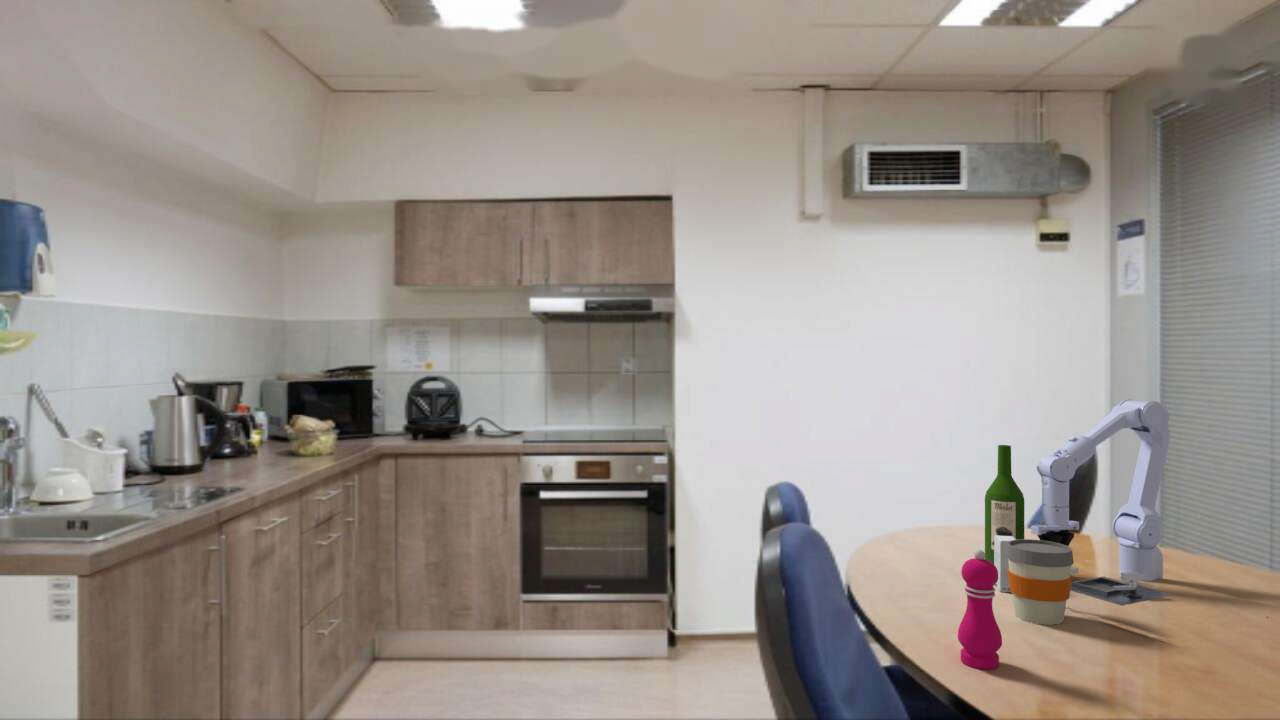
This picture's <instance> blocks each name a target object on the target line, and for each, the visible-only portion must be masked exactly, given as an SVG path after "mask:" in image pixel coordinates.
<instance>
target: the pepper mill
mask: <svg viewBox="0 0 1280 720" xmlns="http://www.w3.org/2000/svg"><path fill="white" fill-rule="evenodd" d="M973 554H974V558H970V559H967V560H966V561H965V562H964V563H963V564H962V567H961V572H960V573H961V577H962V579H963V580H964V582H965V584H964V594H965V595H966V597H967V601H966V602H967V603H966V609H965V613H964V616H963V617H962V620H961V622H960V624H959V627H958V631H957V640H958V642H959V643H960V644H961V646H962V648H961V649H960V661H961V662H962V664H963V665H966V666H967V667H971V668H974V669H977V670H978V669H979V670H995V669H998V668H999V666H1000V654H998V653H997V652H998V651H999V650H1000V649H1001V647H1002V645H1003V636H1002V633H1001V629H1000V627H999V625H998V623H997V620H996V618H995V615H994V614H995V613H994V609H993V599H994V598H995V597H996V592H995V591H996V587H995V584H997V581H998V570H997V568H996V566H995V565H994V564H993V563H992V562H990V561H988V560H986V559H985V551H983V550H981V549H977V550H975V551H974V553H973Z"/></svg>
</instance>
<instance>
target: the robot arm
mask: <svg viewBox="0 0 1280 720" xmlns="http://www.w3.org/2000/svg"><path fill="white" fill-rule="evenodd" d="M1170 414H1171V413H1169V411H1168V410H1167V409H1166V407H1165V406H1164V405H1163V403H1160V402H1159V401H1153V400H1150V401H1149V400H1148V401H1147V400H1146V401H1145V400H1134V399H1123V400H1122V401H1120V403H1118V405H1114V406H1113V407H1112V409H1111V411H1110V413H1109V414H1108V415H1106V416H1105V418H1103V419H1102V420H1101V421H1100V422H1098V423H1097V424H1096V425H1095V426H1094V427H1093V428H1091V430H1090V431H1088V432H1087V433H1086V434H1085V435H1075V436H1074V435H1073V436H1070V437H1069V438H1068V439H1067V442H1066V443H1065V444H1064V445H1062V446H1061V447H1060V448H1058V449H1057V448H1056V449H1055V450H1054V451H1053V453H1052V454H1047V455H1045V456H1043V457H1042V458H1041V459H1040V461H1039V463H1038V465H1037V466H1036V471H1037V472H1038V474H1039V476H1040V478H1041V485H1042V486H1041V487H1042V489H1041V494H1042V495H1041V503H1042V504H1041V510H1042V512H1041V520H1038V523H1037V524H1034V525H1033V524H1032V525H1031V527H1030V529H1031V530H1030V531H1031V532H1030V533H1031V535H1036V536H1037V538H1038V540H1043V541H1050V542H1055V543H1060V544H1063V545H1066V546H1069V547H1070V544H1071V542H1072V541H1073V539H1074V538H1075V533H1074V532H1072V531H1073V530H1074V531H1079V530H1080V521H1077V520H1070V480H1072V479H1073V478H1074V476H1075V474H1076V470H1077V469H1078V468H1079V467H1080V466H1081V465H1083V464H1084V463H1086V461H1088V460H1089V459H1091V458H1092V457H1093V456H1094V455H1095V454H1096V452H1097V446H1099V445H1101V444H1102V443H1103V442H1104V441H1106V440H1107V439H1109V438H1111V437H1112V436H1114V435H1115V434H1116V433H1118V432H1120V431H1121V430H1122V429H1130V430H1132V431H1133V432H1134V433H1135V434H1136V435H1137V436H1138V438H1139V439H1140V440H1141V442H1140V446H1139V451H1138V456H1137V461H1136V464H1135V470H1134V475H1133V479H1132V484H1131V488H1130V492H1129V497H1128V502H1126V503H1125V504H1124V505H1122V506H1121V507H1120V508H1119V510H1118V514H1116V515H1117V516H1115V518H1114V519H1113V520H1112V524H1111V528H1112V532H1113V534H1114V535H1115V536H1116V537H1117V542H1118V575H1119V577H1121V573H1124V572H1143V573H1145V580H1137V582H1153V581H1155V580H1157V579H1161V580H1164V557H1163V553H1162V550H1161V549H1160V548H1159V547H1158V544H1159V543H1161V540H1162V537H1163V530H1162V518H1161V516H1160V514H1159V513H1158V511H1156V509H1155V508H1156V504H1157V499H1158V495H1159V491H1160V486H1161V481H1162V476H1163V471H1164V469H1165V468H1164V467H1165V463H1166V458H1167V453H1168V450H1169V445H1170V438H1171V435H1170V429H1169V425H1168V424H1169V420H1170ZM1070 531H1071V532H1070Z"/></svg>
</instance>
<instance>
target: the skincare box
mask: <svg viewBox="0 0 1280 720" xmlns="http://www.w3.org/2000/svg"><path fill="white" fill-rule="evenodd" d="M1011 540H1016V539H1015V538H1014V537H1012V536H998V535H995V536H994V565H995V566H996V568H997V570H998V581H997V583H996V584H995V585H994V587H995V588H996V589H998V591H999V592H1000V593H1011V591H1010V587H1009V579H1008V572H1007V569H1008V568H1009V563H1008V558H1007V557H1006V550H1007V543H1008V541H1011Z"/></svg>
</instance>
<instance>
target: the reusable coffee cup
mask: <svg viewBox="0 0 1280 720" xmlns="http://www.w3.org/2000/svg"><path fill="white" fill-rule="evenodd" d="M1006 557H1007V558H1008V563H1009V568H1008V569H1007V572H1008V579H1009V587H1010V591H1011V592H1010V593H1011V594H1012V599H1013V607H1014V608H1013V609H1014V615H1015V617H1016V618H1017V617H1018V619H1019V618H1020V620H1021V619H1022V621H1024V622H1026V621H1028V622H1027V623H1030V622H1032V623H1031V624H1035V623H1037V624H1036V625H1041V624H1047V625H1046V626H1054V625H1053V624H1058V625H1061V624H1060V623H1062V622H1065V621H1064V619H1065V612H1066V605H1067V601H1068V600H1069V599H1070V596H1071V591H1070V589H1071V582H1073V576H1072V574H1071V575H1070V573H1071V567H1073V565H1074V563H1075V562H1074V554H1073V549H1072V547H1070V545H1069V546H1066V545H1063V544H1060V543H1055V542H1050V541H1043V540H1040V539H1030V538H1029V539H1028V538H1024V539H1018V540H1011V541H1008V543H1007V550H1006ZM1062 624H1063V623H1062Z"/></svg>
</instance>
